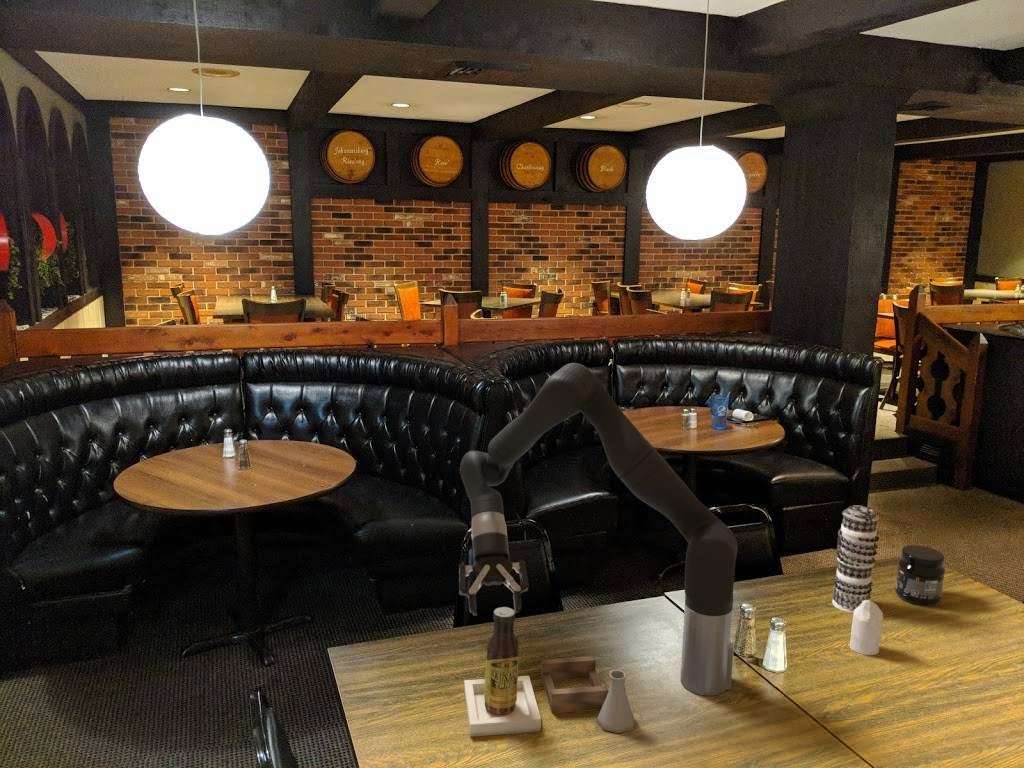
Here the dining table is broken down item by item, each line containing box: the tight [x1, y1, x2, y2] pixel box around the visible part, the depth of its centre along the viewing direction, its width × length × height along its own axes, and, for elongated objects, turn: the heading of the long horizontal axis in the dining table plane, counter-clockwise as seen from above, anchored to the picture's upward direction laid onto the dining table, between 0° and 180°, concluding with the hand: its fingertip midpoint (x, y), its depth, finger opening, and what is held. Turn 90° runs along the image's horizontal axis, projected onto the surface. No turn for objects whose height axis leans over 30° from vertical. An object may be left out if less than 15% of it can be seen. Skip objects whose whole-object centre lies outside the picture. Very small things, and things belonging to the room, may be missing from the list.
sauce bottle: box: [484, 606, 520, 715], centre depth 150 cm, size 6×6×20 cm
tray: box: [463, 675, 542, 738], centre depth 152 cm, size 13×14×2 cm
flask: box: [596, 669, 636, 734], centre depth 148 cm, size 7×7×10 cm
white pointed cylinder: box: [849, 599, 884, 656], centre depth 173 cm, size 6×12×6 cm
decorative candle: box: [832, 504, 880, 615], centre depth 191 cm, size 9×9×25 cm
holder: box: [540, 655, 609, 714], centre depth 157 cm, size 11×12×4 cm
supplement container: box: [894, 544, 946, 607], centre depth 197 cm, size 10×10×12 cm
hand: (496, 613), depth 160 cm, fingers open, 8 cm apart
